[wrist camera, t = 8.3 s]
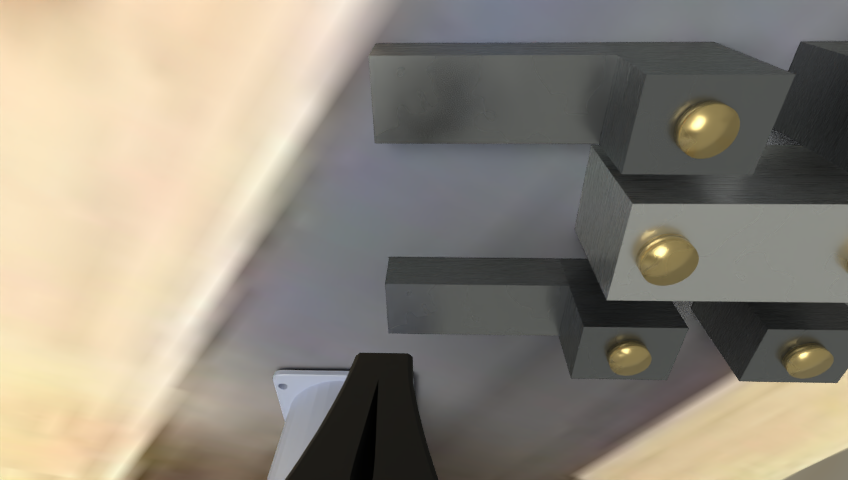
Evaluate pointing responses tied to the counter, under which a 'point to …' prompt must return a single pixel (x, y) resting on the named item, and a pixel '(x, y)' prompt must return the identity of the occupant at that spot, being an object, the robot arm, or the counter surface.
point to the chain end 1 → (568, 124)
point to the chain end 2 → (794, 321)
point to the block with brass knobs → (719, 231)
